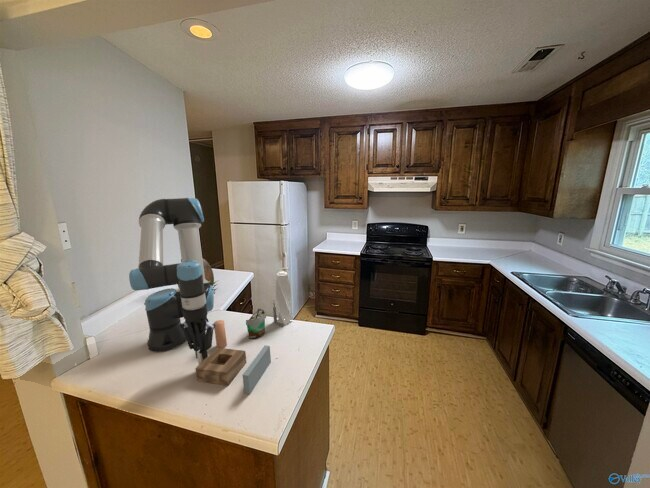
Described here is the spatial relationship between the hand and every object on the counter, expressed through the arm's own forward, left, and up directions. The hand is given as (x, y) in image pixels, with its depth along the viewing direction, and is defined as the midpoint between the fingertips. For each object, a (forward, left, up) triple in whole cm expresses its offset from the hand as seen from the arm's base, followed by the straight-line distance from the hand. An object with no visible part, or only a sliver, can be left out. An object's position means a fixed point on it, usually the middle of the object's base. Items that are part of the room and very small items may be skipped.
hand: (203, 365), depth 95 cm
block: (+8, 0, -1) cm, 8 cm away
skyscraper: (+16, +40, -3) cm, 43 cm away
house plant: (-32, +48, -3) cm, 58 cm away
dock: (+11, 0, -3) cm, 11 cm away
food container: (+9, +27, -3) cm, 29 cm away
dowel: (-2, +14, -3) cm, 15 cm away
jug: (-55, +66, -3) cm, 86 cm away
